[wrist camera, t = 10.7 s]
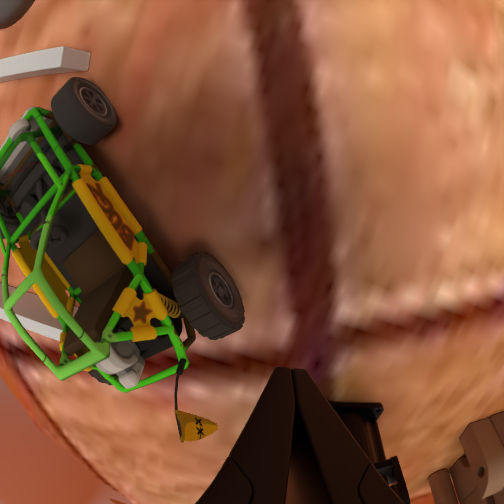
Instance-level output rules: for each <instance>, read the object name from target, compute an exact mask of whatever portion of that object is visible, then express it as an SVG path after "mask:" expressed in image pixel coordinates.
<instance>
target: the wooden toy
mask: <svg viewBox="0 0 504 504" xmlns="http://www.w3.org/2000/svg"><path fill="white" fill-rule="evenodd" d="M460 441H461V444H462V446H463V449H464V451H465V454H466V457H463V458H460V459H458V460H457V462H456V463H455V464H454V465H453V466H452V468H451V469H450V474H451V477H452V480H453V484H454V487H455V490H456V493H457V497H458V500H459V502H460V504H504V412H501V413H498V414H495V415H492V416H490V417H489V418H486V419H483V420H479V421H476V422H473V423H470V424H469V425H468V427H467V428H466V430H465V431H464V433H463V434H462V436H461V437H460ZM428 480H429V483H430V487H431V491H432V494H433V498H434V502H435V504H458V501H457V498H456V494H455V491H454V487H453V484H452V481H451V478H450V475H449V472H448V470H447V469H443V470H439V471H437V472H435V473H433V474H432V475H431V476H430V477H429V479H428Z"/></svg>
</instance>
